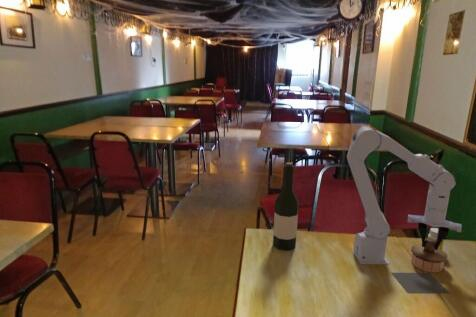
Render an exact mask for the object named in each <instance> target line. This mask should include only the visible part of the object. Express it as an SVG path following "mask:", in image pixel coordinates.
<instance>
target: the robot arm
mask: <svg viewBox="0 0 476 317" xmlns="http://www.w3.org/2000/svg"><path fill="white" fill-rule="evenodd" d="M348 147H349V148H348V151H347V154H346V159H347V163H348V165H349V168H350V171H351V174H352V178H353V180H354V182H355V186H356V188H357V192H358V195H359V197H360V200H361V204H362V206H363V209H364V212H365V215H364V216H365V217H364V222H365V223H366V227H365V228H364V230H363V231H362V232H358V233H356V234H355V236H354V243H353V250H352V253H353V255H354V256H355V258H356V259H357V261H358V263H359V264H361V265H390V262H389V261H388V259H387V258H386V257H385V256H386V250H387V243H388V236H389V234H390V232H391V226H390V225H389V223H388V222H387V219H386V216H385V214H384V213H383V211H381V208H380V206H379V202H378V199H377V196H376V194H375V190H374V188H373V184H372V182H371V179H370V176H369V173H368V169H367V168H366V167H367V166H366V164H365V160H366V158H367V157H368V155H369V154H370V153H372V152H373V151H374V150H376V149H377V150H378V151H383V150H384V151H388V152H390V153H391V154H393V155H395V156H396V157H398V158H400V159H401V160H402V161H405V163H407V168H408V169H409V170H410V171H411V172H412V173H415V174H416V175H418V176H419V177H420V178H422V179H423V180H425V181H427V182H428V183H429V185H428V186H429V187H428V191H427V196H426V203H425V208H424V215H418V214H417V215H415V214H408V215H407V223H415V224H417V229H418V231H419V234H420V239H421V245H422V247H425V239H426V235H427V231H428V226H430V227H431V228H438V235H437V239H436V246H435V250H438V247H439V245H440V243H441V242H442V240H443V239H444V240H445V239H446V237H447V236H448V235H449V232H450V230H451V231H456V232H457V233H462V223H456V222H453V221H450V220H447V219H446V217H447V212H448V206H449V202H450V195H451V194H450V193H451V191H452V189H454V187H455V186H456V184H457V182H456V179H455V177H454V175H453V173H451V172H449V171H448V170H446V168H444V165H441V164H437V163H436V162H435V161H433V160H431V157H430V156H429V155H427V154H426V153H425V154H422V153H416V154H415V153H413V152H411V151H410V150H408V149H407V148H406V147H404V146H403V145H401V144H400V143H398V142H397V141H396V140H395V139H393V138H391V137H390V136H388V135H387V134H385V133H383V132H381V131H379V130H377V129H376V130H374V128H373V127H372V126H368V125H363V126H360V127H358V128H357V129H356V130H355V132H354V133H353V134H352V136H351V140H350V144H349V146H348Z"/></svg>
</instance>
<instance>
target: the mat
mask: <svg viewBox="0 0 476 317" xmlns="http://www.w3.org/2000/svg"><path fill="white" fill-rule="evenodd" d="M391 275H392V276H393V277H394V278H395V280H396V281H397V282H398V283H399V284H400V285H401V287H402V288H403V289H404V290H405V292H406V293H407V294H451V293H450V291H449V290H448V289H447V288H445V286H444V285H442V284H441V282H440V281H439V280H438V279H437V278H435V277H434V276H433V275H432V274H431V272H391Z"/></svg>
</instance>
